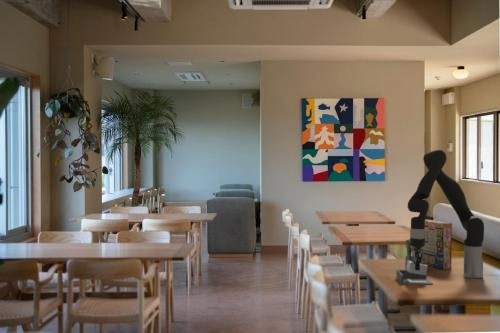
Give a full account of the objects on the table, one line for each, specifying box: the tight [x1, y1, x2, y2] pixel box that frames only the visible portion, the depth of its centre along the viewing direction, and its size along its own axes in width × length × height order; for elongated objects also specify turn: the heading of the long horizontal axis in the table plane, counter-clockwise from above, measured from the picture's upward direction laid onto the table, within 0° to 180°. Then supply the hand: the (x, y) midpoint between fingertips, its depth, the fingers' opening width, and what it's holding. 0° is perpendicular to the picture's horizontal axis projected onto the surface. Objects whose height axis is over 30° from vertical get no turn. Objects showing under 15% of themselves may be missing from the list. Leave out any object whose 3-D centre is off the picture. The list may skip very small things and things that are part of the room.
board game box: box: [420, 219, 453, 270], centre depth 326 cm, size 20×6×27 cm, turn 23°
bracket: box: [404, 238, 414, 270], centre depth 313 cm, size 28×7×20 cm, turn 152°
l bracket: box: [406, 260, 429, 275], centre depth 288 cm, size 9×7×5 cm
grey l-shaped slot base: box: [395, 269, 433, 286], centre depth 288 cm, size 16×13×5 cm
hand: (416, 269), depth 285 cm, fingers closed on l bracket
